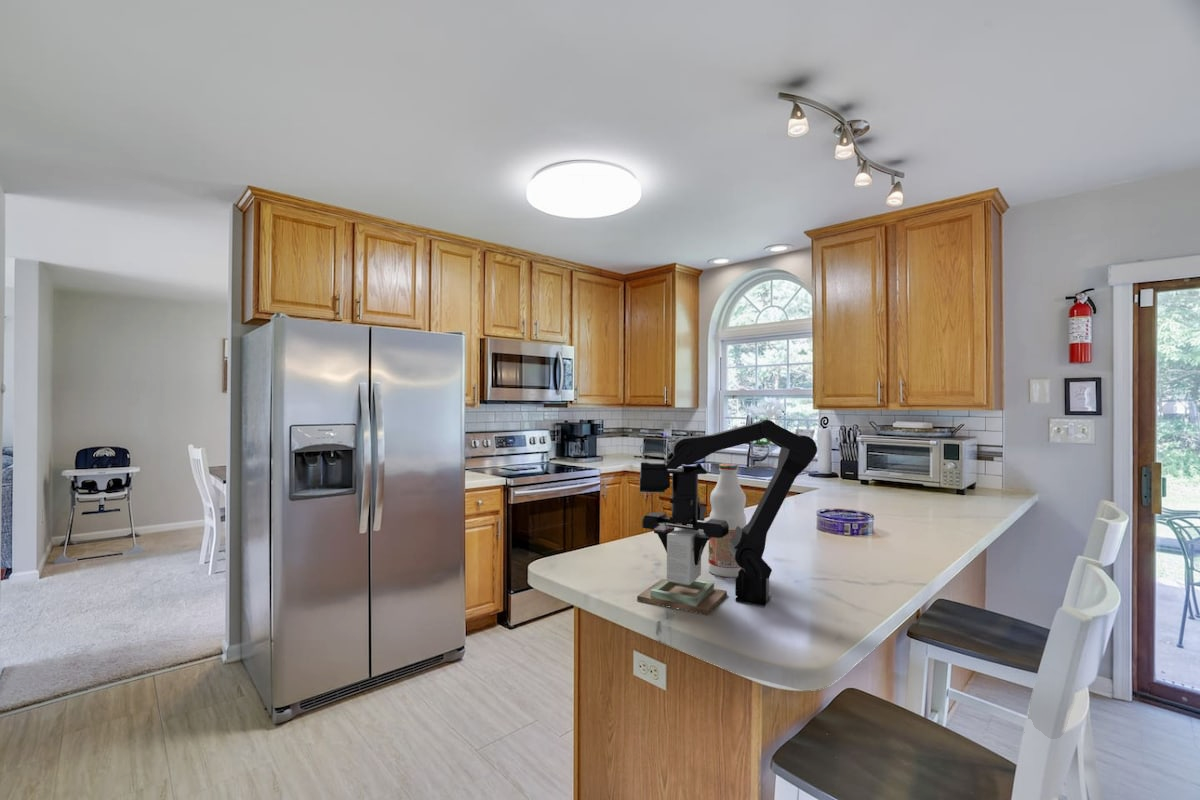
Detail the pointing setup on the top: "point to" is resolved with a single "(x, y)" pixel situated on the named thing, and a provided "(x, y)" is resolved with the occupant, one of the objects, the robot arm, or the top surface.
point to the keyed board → (684, 595)
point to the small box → (682, 556)
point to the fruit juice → (729, 508)
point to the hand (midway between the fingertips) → (684, 562)
